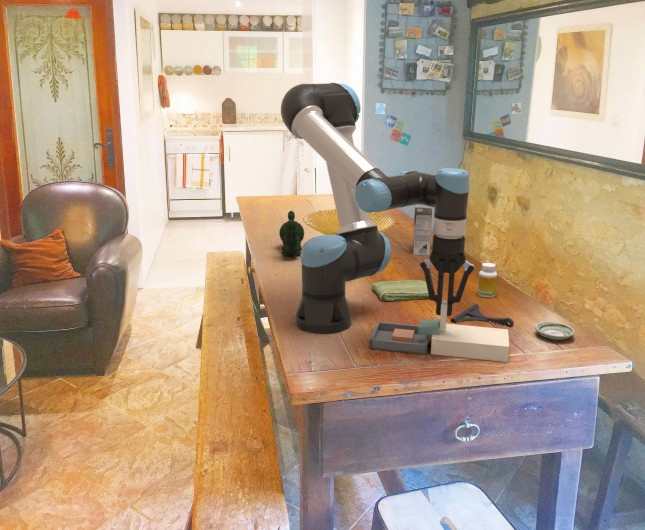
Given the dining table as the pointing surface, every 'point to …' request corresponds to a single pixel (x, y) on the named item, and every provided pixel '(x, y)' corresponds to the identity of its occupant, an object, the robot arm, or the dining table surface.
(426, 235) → the coffee box
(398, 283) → the washcloth
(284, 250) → the toy figurine
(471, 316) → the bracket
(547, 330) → the saucer
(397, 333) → the terracotta tile
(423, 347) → the tray
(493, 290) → the supplement bottle
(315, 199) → the dining table surface
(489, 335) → the cream board
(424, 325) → the green glazed tile
